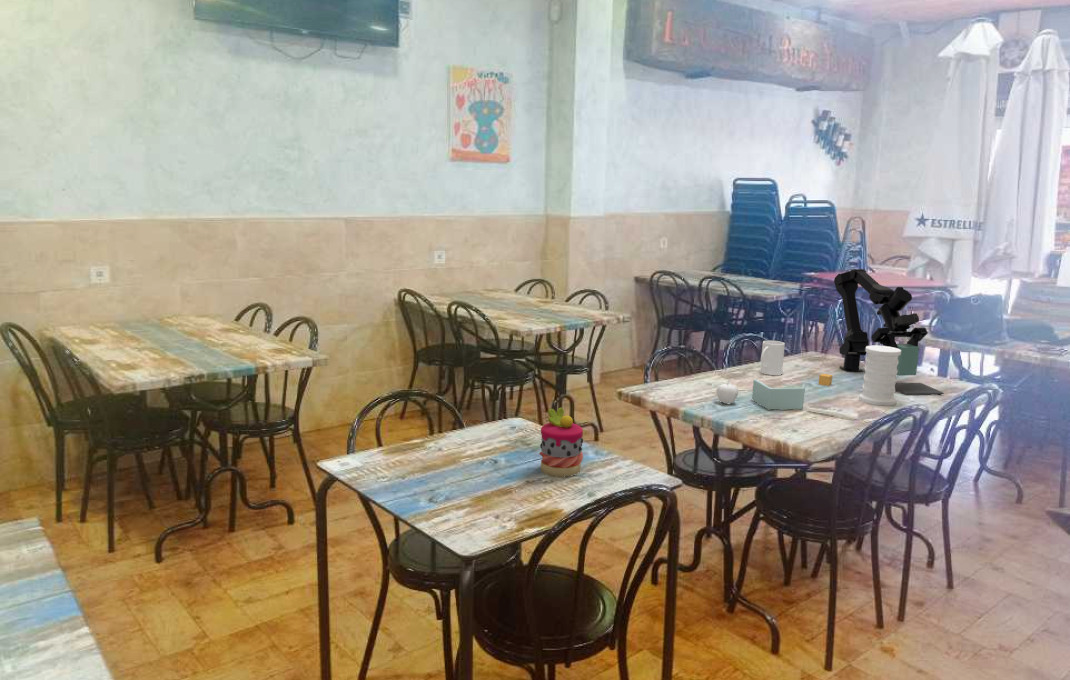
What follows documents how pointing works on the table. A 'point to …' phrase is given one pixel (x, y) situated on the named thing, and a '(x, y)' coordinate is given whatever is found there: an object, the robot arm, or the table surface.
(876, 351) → the decorative container
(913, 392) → the mat
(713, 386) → the table surface
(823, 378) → the orange cube
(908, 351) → the green block
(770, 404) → the right angle wall
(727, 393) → the plain white apple
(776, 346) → the mug
